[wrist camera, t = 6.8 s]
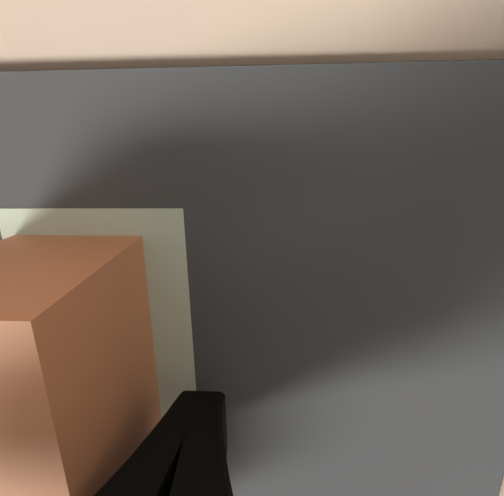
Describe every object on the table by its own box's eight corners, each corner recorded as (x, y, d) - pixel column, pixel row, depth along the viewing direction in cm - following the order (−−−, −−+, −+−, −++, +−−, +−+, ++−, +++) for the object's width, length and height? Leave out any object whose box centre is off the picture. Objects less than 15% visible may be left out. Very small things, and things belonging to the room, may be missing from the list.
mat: (463, 593, 13) (468, 607, 13) (-135, 556, 15) (-146, 568, 14) (598, 60, 8) (615, 56, 8) (-369, 83, 9) (-397, 81, 9)
